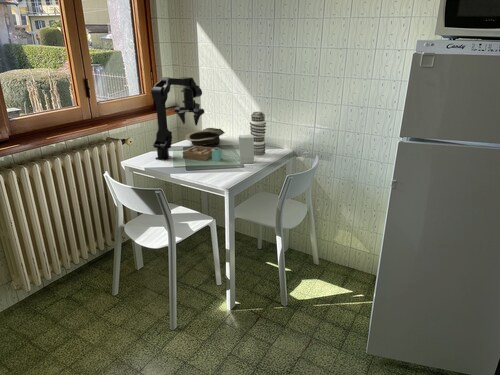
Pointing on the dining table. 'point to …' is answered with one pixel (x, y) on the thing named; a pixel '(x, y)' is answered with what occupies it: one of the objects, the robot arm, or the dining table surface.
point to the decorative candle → (258, 133)
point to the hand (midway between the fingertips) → (190, 124)
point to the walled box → (198, 155)
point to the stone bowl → (205, 137)
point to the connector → (216, 154)
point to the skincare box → (246, 148)
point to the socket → (197, 151)
